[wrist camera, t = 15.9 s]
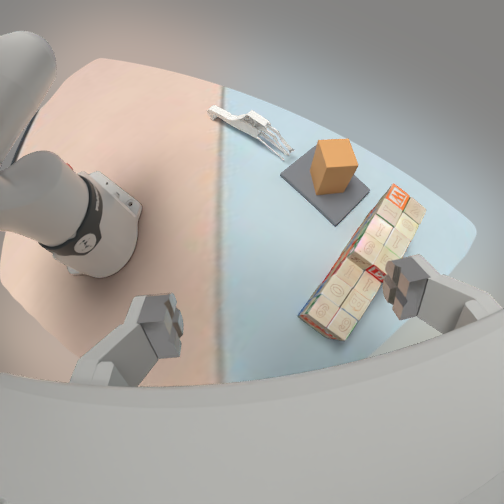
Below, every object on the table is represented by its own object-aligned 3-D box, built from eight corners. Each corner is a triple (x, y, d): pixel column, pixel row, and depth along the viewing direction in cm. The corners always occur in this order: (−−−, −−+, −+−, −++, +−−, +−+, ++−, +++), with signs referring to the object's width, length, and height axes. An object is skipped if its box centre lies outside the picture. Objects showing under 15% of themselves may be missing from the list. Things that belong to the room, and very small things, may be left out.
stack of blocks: (327, 339, 41) (352, 343, 30) (296, 316, 43) (309, 311, 31) (393, 236, 45) (428, 208, 34) (366, 214, 47) (394, 181, 35)
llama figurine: (275, 165, 56) (210, 110, 53) (299, 146, 46) (220, 80, 42) (270, 171, 56) (204, 115, 52) (293, 153, 45) (213, 86, 42)
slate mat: (280, 175, 49) (280, 173, 48) (316, 146, 50) (317, 144, 50) (334, 226, 46) (336, 224, 45) (368, 191, 48) (370, 189, 47)
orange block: (316, 195, 47) (326, 167, 38) (309, 170, 48) (318, 140, 39) (343, 192, 47) (358, 165, 38) (336, 168, 48) (348, 138, 39)
